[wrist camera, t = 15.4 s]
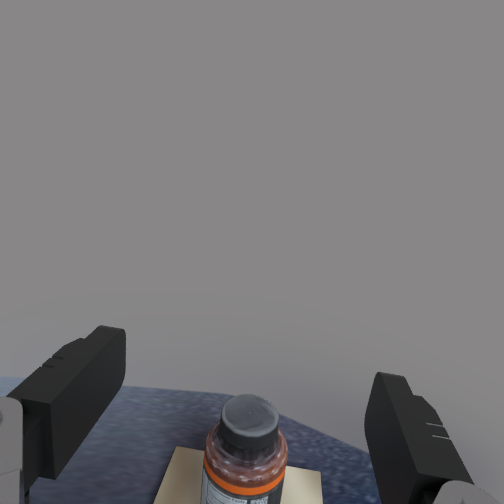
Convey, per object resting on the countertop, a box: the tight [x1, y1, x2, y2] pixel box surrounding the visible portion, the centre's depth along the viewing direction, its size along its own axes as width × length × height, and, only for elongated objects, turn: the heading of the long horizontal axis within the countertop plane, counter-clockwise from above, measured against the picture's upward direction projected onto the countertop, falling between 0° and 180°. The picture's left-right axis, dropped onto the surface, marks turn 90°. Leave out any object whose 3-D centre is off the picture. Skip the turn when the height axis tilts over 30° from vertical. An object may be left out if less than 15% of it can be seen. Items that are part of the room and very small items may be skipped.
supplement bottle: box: [200, 394, 288, 504], centre depth 26 cm, size 6×6×11 cm
